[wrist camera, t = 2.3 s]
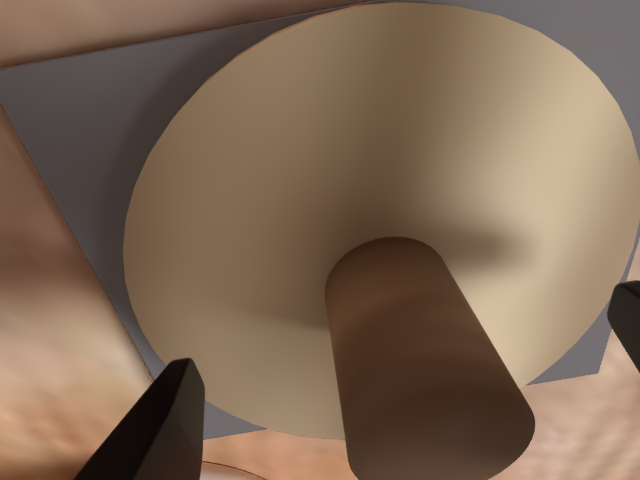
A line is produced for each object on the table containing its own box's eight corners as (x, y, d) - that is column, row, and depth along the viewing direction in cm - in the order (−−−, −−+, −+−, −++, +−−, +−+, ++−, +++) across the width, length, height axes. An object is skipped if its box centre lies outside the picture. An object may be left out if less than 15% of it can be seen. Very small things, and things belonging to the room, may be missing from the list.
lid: (676, -52, 8) (1172, -94, 3) (566, 378, 14) (691, 550, 10) (36, 61, 8) (-260, 156, 3) (216, 437, 14) (189, 633, 10)
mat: (703, -61, 8) (731, -63, 8) (586, 359, 14) (597, 373, 14) (1, 67, 8) (-17, 73, 8) (192, 426, 15) (189, 442, 14)
